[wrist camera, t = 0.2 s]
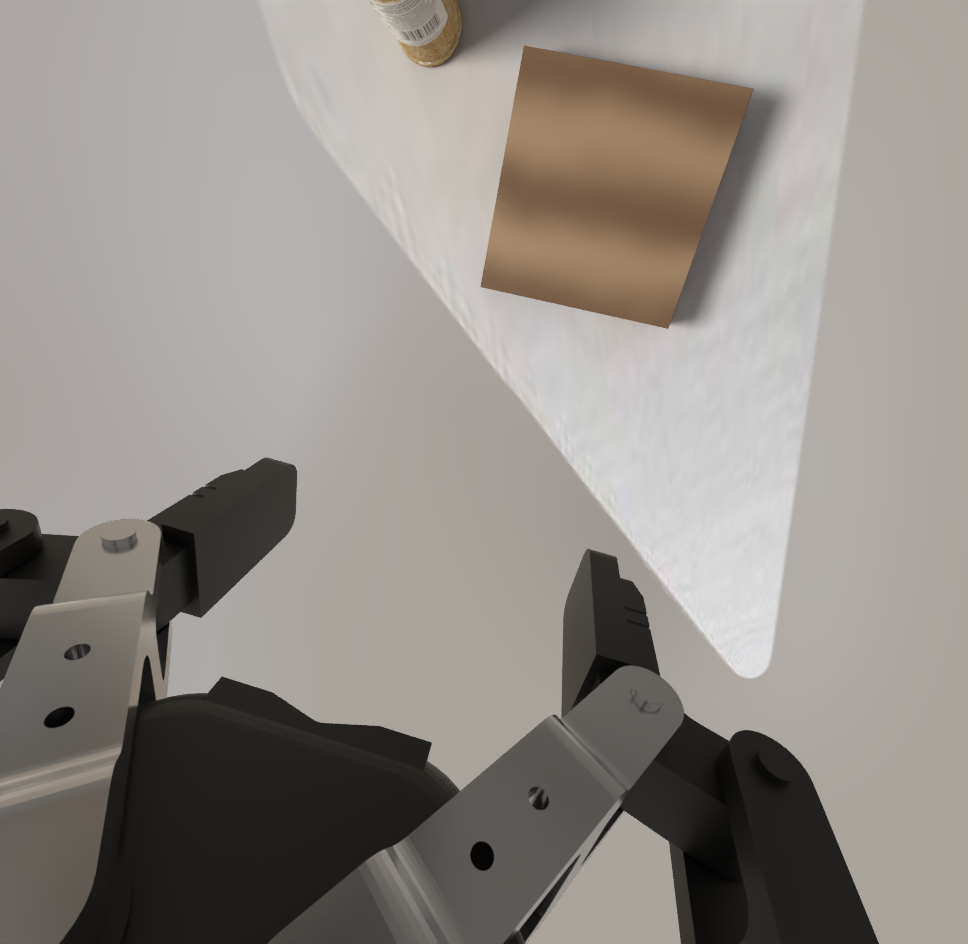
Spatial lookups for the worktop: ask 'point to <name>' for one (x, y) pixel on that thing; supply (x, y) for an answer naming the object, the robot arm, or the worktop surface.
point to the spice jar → (422, 27)
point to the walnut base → (608, 183)
